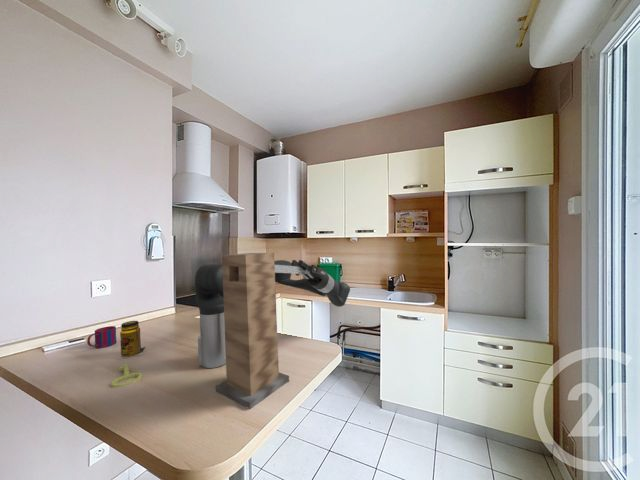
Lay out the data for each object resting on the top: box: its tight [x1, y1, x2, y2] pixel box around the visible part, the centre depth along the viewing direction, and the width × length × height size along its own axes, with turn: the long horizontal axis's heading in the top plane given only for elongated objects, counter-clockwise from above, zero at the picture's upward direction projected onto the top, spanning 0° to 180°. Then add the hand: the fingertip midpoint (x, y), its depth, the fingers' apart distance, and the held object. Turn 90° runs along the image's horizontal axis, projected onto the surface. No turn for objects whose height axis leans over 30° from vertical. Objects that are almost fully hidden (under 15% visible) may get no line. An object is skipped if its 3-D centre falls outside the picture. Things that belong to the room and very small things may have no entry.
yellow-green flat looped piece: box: [110, 363, 143, 388], centre depth 77 cm, size 7×12×2 cm, turn 57°
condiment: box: [117, 320, 147, 360], centre depth 95 cm, size 7×8×12 cm
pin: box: [275, 265, 307, 275], centre depth 83 cm, size 24×2×2 cm, turn 145°
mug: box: [86, 325, 117, 349], centre depth 103 cm, size 7×10×7 cm
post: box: [215, 252, 290, 410], centre depth 70 cm, size 14×14×37 cm
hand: (296, 262), depth 87 cm, fingers closed on pin, 2 cm apart
